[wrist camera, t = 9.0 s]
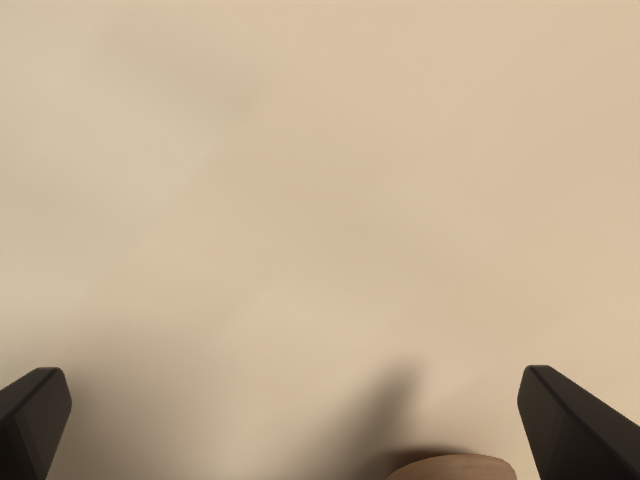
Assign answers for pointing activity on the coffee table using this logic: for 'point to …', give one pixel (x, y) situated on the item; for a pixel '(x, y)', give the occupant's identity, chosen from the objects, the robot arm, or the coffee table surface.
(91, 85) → the coffee table surface
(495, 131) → the coffee table surface
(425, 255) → the coffee table surface
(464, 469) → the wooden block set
